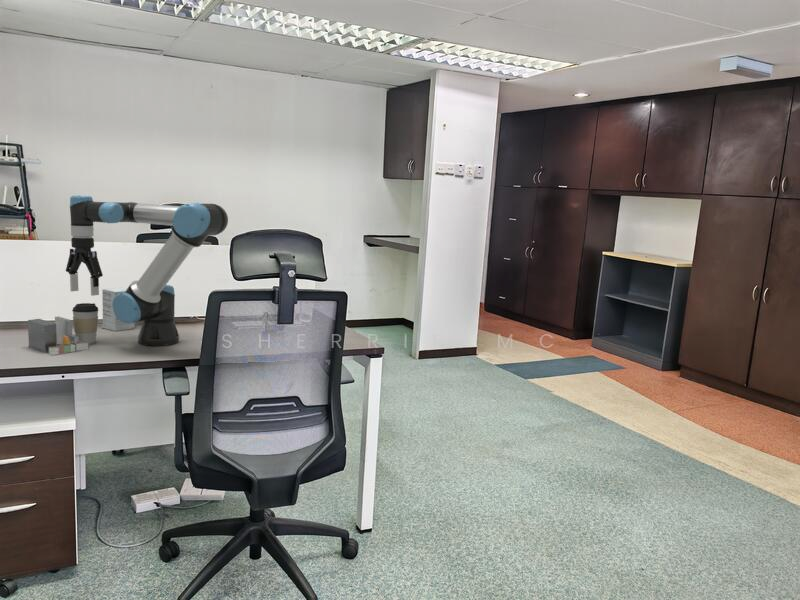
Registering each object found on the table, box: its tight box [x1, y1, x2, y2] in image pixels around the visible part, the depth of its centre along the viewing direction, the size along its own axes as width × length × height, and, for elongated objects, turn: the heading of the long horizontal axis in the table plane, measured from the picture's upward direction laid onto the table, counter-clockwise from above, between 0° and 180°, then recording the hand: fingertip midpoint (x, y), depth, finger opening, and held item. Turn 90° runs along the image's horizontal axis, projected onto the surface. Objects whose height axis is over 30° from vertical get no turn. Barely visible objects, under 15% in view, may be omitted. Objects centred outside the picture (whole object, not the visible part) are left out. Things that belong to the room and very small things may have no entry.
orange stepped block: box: [62, 336, 70, 345], centre depth 219 cm, size 3×1×3 cm, turn 56°
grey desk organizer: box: [27, 318, 89, 356], centre depth 223 cm, size 17×13×10 cm
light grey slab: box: [54, 315, 79, 345], centre depth 226 cm, size 14×2×10 cm, turn 56°
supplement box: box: [101, 287, 136, 332], centre depth 259 cm, size 10×9×17 cm
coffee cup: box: [71, 302, 99, 345], centre depth 233 cm, size 9×9×15 cm
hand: (84, 293), depth 231 cm, fingers open, 13 cm apart
